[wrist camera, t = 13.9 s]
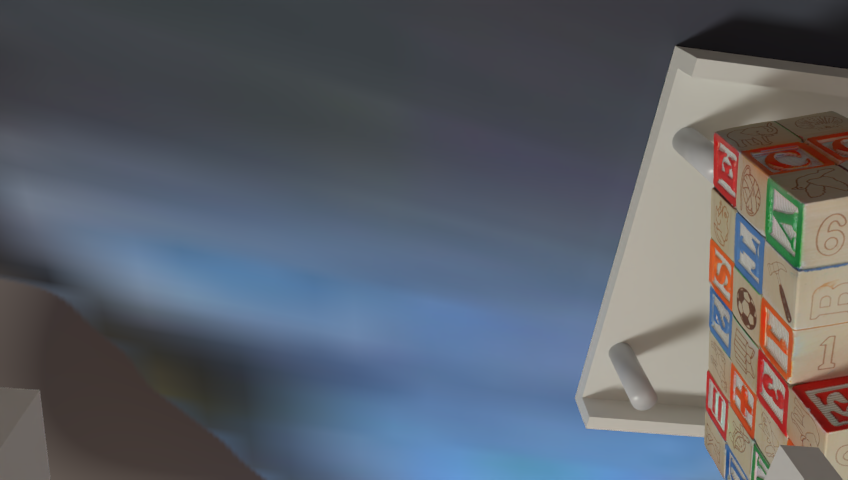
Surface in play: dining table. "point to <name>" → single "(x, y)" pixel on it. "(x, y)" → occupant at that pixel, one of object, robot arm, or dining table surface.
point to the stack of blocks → (778, 294)
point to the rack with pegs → (682, 239)
